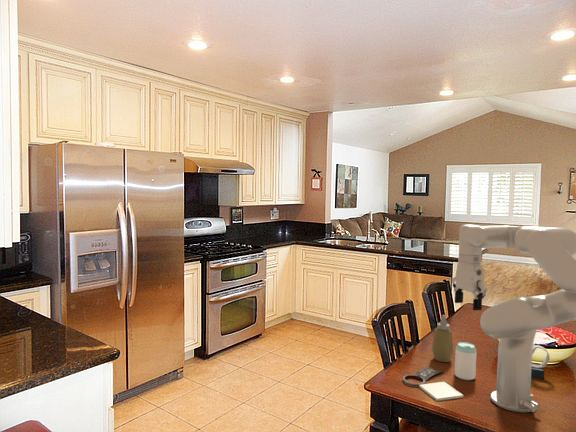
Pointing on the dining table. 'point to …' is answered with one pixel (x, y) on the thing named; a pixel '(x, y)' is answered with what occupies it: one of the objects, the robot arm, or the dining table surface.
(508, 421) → the dining table surface
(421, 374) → the keychain
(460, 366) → the can
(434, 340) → the squeeze bottle
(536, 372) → the watch
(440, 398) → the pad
